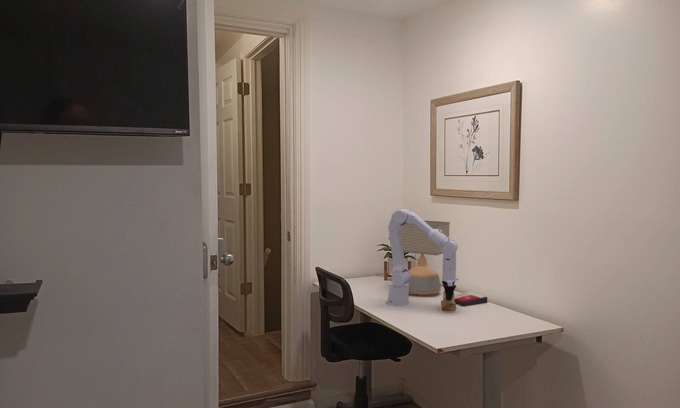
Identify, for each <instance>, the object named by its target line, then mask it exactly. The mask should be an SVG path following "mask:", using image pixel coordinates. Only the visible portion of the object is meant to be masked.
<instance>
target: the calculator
mask: <svg viewBox="0 0 680 408" xmlns="http://www.w3.org/2000/svg"><path fill="white" fill-rule="evenodd" d="M454 301H455V303H456V306H457V305H458V306H460V307H469V306H475V305H483V304H487V303H488V297H487V296H486V295H484V294H480V293H476V292H472V291H469V292H462V293H458V294H454Z"/></svg>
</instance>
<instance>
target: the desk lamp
mask: <svg viewBox="0 0 680 408" xmlns="http://www.w3.org/2000/svg"><path fill="white" fill-rule="evenodd" d="M422 220H423V221H424V222H426V223H427V224H428V225H429V226H430V227H431V228H432V229H438V230H441V231H442V233H443V234H444V235H445V236H447V237H449V238H450V221H437V220H425V219H422ZM400 233H401V240H402V246H403V253H409V254H410V253H411V254H417V255H418V254H420V256H419V257H418V258H417V264H416V266H413V267H412V268H411V269H408V271H409V273H410V275H411V278H410V280H409V281H408V284H409V295H413V296H417V297H431V296H433V295H436V294H438V293H440V292H441V291H442V290H441V289H442V287H441V285H442V284H441V279H440V275H439V274H438V272H437V271H435V270H434V269H433V268H431V267H430V266H429V265H428V261H427V257H426V256H425V255H427V256H428V255H430V256H431V255H432V256H439V255H443V252H442V250H441V248H439V247H438V246H437V245H436V244H435V243H433V242H432V241H431V240H430V239H429V236H428V234H427V233H425V232H424V231H423V230H421V229H420V228H419V227H417V226H416V225H414V224H407V223H406V224H404V226H403V227H402V228H401V229H400Z"/></svg>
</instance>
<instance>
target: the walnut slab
mask: <svg viewBox="0 0 680 408" xmlns="http://www.w3.org/2000/svg"><path fill="white" fill-rule="evenodd" d="M440 307H441V310H442V311H441V312H444V311H455V312H454V313H457V312H456V309H457V304H456V303H455V301H454V304H444V303H443V300H440Z"/></svg>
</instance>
